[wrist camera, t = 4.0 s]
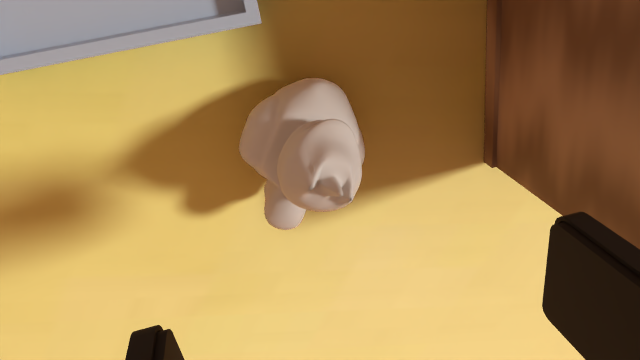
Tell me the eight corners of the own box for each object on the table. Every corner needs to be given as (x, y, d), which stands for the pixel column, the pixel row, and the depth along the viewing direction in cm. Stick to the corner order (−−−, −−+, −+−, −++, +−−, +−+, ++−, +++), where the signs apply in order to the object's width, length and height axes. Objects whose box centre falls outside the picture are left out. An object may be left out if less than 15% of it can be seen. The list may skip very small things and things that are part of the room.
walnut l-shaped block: (491, -212, 17) (787, -394, 8) (608, -229, 18) (1001, -415, 9) (483, 161, 24) (634, 274, 16) (566, 141, 25) (755, 239, 16)
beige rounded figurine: (370, 89, 21) (446, 154, 14) (318, 206, 24) (362, 311, 17) (262, 49, 19) (290, 100, 12) (217, 179, 22) (219, 285, 15)
